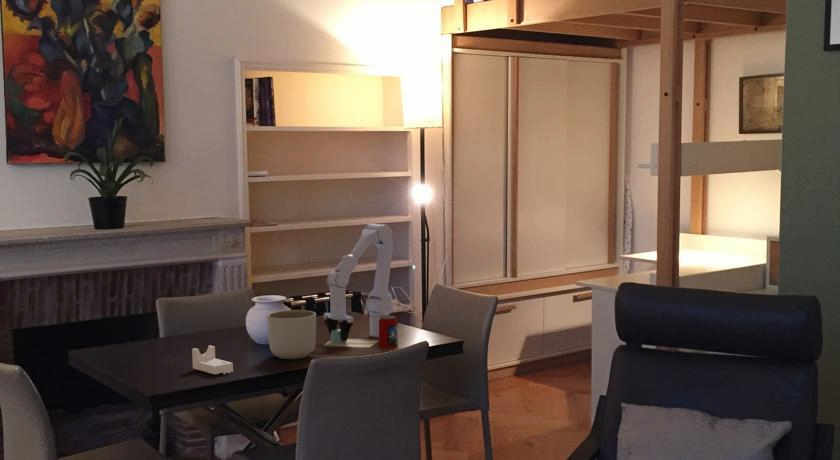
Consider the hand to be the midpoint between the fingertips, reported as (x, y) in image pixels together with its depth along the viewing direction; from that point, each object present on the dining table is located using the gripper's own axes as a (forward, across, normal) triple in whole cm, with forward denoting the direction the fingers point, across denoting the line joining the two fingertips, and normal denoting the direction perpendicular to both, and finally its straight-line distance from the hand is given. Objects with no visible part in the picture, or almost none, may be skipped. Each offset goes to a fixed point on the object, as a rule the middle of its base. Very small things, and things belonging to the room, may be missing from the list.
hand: (338, 339), depth 354 cm
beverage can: (+2, +19, +8) cm, 20 cm away
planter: (+2, +2, -23) cm, 23 cm away
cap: (+1, 0, 0) cm, 1 cm away
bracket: (+3, 0, -55) cm, 55 cm away
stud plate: (+2, +4, +2) cm, 5 cm away
